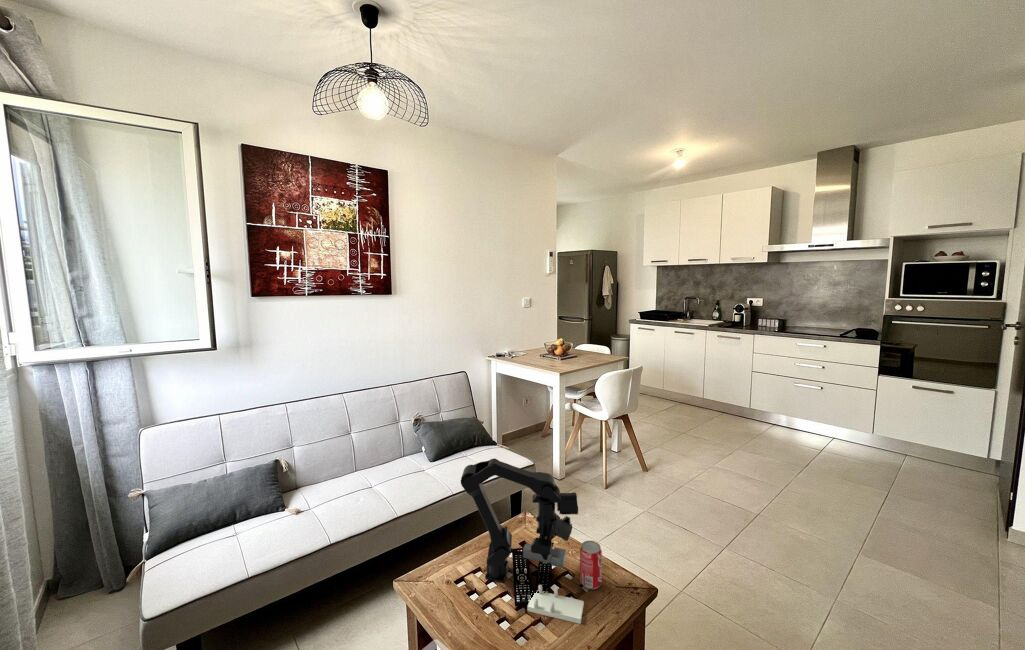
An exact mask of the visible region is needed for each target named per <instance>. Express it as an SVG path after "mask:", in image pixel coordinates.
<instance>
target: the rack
mask: <svg viewBox="0 0 1025 650" xmlns="http://www.w3.org/2000/svg"><path fill="white" fill-rule="evenodd" d="M538 591H539V593H537V592H536V593H534V595H533V597H532V598H531V597H530V598H531V600H530V599H529V600H528V601H529V602H528V604H527V606H526V607H527V612H530V613H535V614H538V615H541V616H546V617H551V618H554V619H559V620H562V621H566V622H567V621H568V622H572V623H575V624H579V625H581V623H582V617H583V611H584V606H585V605H584V603H585V601H584V600H580V599H576V598H572V597H567V596H564V595H559V589H558V587H557V588H556V587H555V588H553V593H550V592H546V591H543V585H542V584H538ZM544 592H545V593H544Z"/></svg>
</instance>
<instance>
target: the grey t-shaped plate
mask: <svg viewBox="0 0 1025 650" xmlns="http://www.w3.org/2000/svg"><path fill="white" fill-rule="evenodd" d="M553 547H554V548H552V550H551V553H550V555H548V558H547V560H544V559H543V557H542V555H541V554H537V553H532V552H531V544H527V543H524V546H523V549H522V550H523V551H522V559H527V560H531V561H532V560H534V561H538V562H543V563H547V564H551V566H552V567H557V568H562V569H563V568H564V567H565V565H566V564H565V563H566V559H567V549H565V548H558V547H555V546H553Z"/></svg>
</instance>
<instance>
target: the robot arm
mask: <svg viewBox="0 0 1025 650" xmlns="http://www.w3.org/2000/svg"><path fill="white" fill-rule="evenodd" d="M494 476H496V477H499V478H501V479H504V480H507V481H510V482H513V483H515V484H519V485H521V486H524V487H526V488H528V489H530V490H531V491H532V492H533V493H534V494H533V495H532V497H531V498H532V503H535V504H536V503H537V516H536V522H537V527H536V532H535V533H536V534H539V537H535V538H533V539H532V543H531V544H530V545H531V552H532V553H537V554H541V555H542V557H543V559H544V560H547V558H548V555H550V553H551V550H552V549H554V548H553V547H554V546H555V545H554V544H555V543H554V542H553V539H554V538H555V537H558V538H560V539H561V540H563V541H564V542H568V541H569V539H570V536H571V535H572V532H573V531H572V530H573V523H572V522H571V517H569V516H567V515H573V516H574V515H575V516H577V515H579V506H578V494H577V492H561V491H560V488H559V486H558V485H557V483H555V478H554V476H553V475H552V474H550V473H547V472H541V471H528V470H526V469H524V468H523V469H522V468H520V467H517V466H514V465H512V464H509V463H507V462H505V461H504V462H503V461H501V460H499V459H497V458H491V459H489V460H483V461H480V462H477V463H475V464H467V466H465V468H463V472H462V475H461V478H460V485H461V487H462V489H464V491H465V492H466V494H467V495H469V496H470V497H471V498H472V499H473V501H474V503H475V505H476V507H477V510H478V512H479V515H480V517H481V518H482V519H481V520H483V524H484V525H485V527H486V530H487V531H488V534H489V537H490V538H489V539H490V542H489V543H488V551H487V556H486V573H485V576H484V578H485V579H487V580H491V581H493V582H494V581H495V582H499V583H503V582H504V581H505V579H506V577H508V574H509V560H508V558H509V557H510V554H511V553H512V551H511V550H512V545H513V544H512V542H513V540H512V539H513V535H512V533H511V532H510V530H509V527H508V525H506V526H503V525H501V524H500V521H499V519H498V517H497V515H496V513H495V510H494V508H493V506H492V504H491V502H490V500H489V498H488V495H487V493H486V491H485V487H484V483H485V482H486V481H487V480H489V479H491V477H494ZM556 511H557V512H559V513H558V514H559V515H558V514H557V513H556ZM560 515H565V516H564V517H563V518H561V516H560Z"/></svg>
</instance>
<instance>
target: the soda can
mask: <svg viewBox="0 0 1025 650" xmlns="http://www.w3.org/2000/svg"><path fill="white" fill-rule="evenodd" d="M580 546H581V547H580V549H579V581H580V583H581V585H582V586H583V587H584V588H586V589H587V590H597V589H598V588H600V587H601V586H602V584H603V583H602V582H603V550H602V549H601V545H600V544H599V543H598V542H596V541H594V540H585V541H583V542H582V543H581V545H580Z"/></svg>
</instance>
